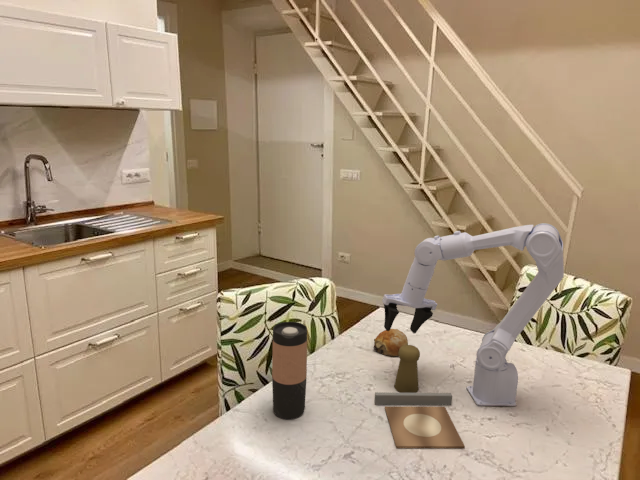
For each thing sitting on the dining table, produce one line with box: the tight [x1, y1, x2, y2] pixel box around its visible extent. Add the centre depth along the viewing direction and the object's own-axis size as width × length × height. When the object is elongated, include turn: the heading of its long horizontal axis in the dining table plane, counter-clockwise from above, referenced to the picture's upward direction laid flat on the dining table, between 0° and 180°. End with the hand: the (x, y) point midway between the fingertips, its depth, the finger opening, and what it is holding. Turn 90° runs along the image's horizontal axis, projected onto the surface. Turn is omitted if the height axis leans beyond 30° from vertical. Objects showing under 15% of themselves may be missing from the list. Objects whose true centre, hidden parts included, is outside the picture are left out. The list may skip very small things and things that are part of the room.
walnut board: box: [384, 405, 466, 449], centre depth 102 cm, size 14×14×1 cm
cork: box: [394, 344, 421, 393], centre depth 117 cm, size 6×6×11 cm
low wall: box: [374, 391, 453, 406], centre depth 111 cm, size 18×1×2 cm, turn 92°
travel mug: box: [271, 321, 308, 420], centre depth 105 cm, size 8×8×20 cm
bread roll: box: [373, 328, 409, 358], centre depth 138 cm, size 10×10×8 cm
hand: (399, 330), depth 122 cm, fingers open, 7 cm apart
